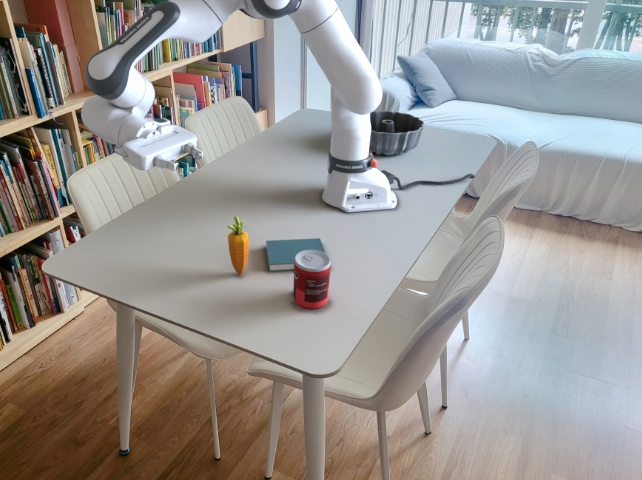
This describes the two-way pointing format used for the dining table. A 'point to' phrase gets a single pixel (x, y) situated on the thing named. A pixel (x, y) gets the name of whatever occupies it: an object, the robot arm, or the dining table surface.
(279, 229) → the dining table surface
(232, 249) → the carrot
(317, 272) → the canned food
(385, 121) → the bundt pan
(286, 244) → the blue hardcover book
